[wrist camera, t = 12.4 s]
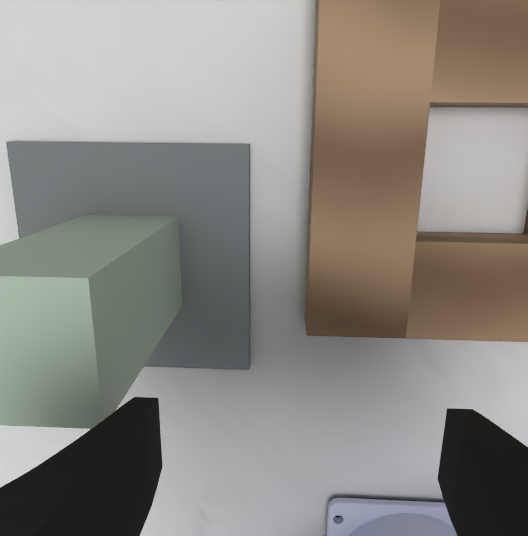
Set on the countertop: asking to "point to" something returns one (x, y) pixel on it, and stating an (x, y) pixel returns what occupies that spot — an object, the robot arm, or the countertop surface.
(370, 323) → the pocket holder
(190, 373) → the countertop surface
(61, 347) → the sage block
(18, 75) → the countertop surface
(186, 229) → the slate mat
